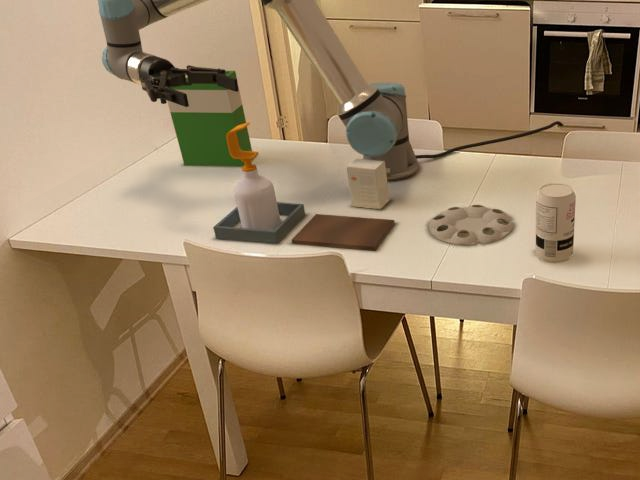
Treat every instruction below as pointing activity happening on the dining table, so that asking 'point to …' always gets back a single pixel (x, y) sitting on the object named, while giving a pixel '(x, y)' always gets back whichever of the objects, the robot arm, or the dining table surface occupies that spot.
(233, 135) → the soap bottle
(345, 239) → the walnut board
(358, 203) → the small box
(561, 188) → the supplement can
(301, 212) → the square frame
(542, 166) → the dining table surface
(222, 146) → the hardback book
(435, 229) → the paint palette
